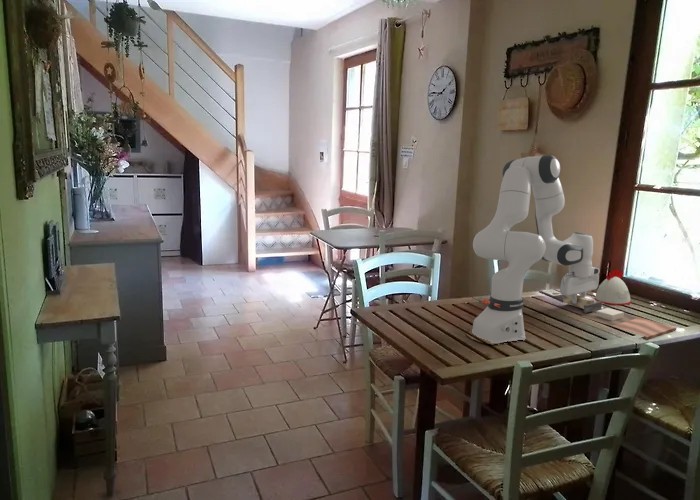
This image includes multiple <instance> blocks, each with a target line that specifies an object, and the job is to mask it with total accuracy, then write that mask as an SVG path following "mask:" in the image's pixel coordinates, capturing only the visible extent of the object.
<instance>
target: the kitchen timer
mask: <svg viewBox="0 0 700 500" xmlns="http://www.w3.org/2000/svg"><path fill="white" fill-rule="evenodd" d="M623 275H624V271H621V269H616V268H615V269H612V270H611V272H608V275H606V274H605V277H606V279H604V280H603V281H602V282H601V283H600V284H598V287H597V289H596V290H597V291H596V292H595V297H594V298H595V301H596V302H599V301H601V302H602V304H606V305H612V306H618V305H619V306H624V305H627V306H630V305H631V295H630V291H629V289H628V286H627V285H626V282H624V280H622V279H621V278H622V277H623Z"/></svg>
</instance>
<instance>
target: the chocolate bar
mask: <svg viewBox="0 0 700 500" xmlns="http://www.w3.org/2000/svg"><path fill="white" fill-rule="evenodd" d="M538 293H539V294H543V295H545V296H547V297H549V298H551V299H553V300H554V299H555V300H557V301H559V302H561V303H563V299H564V295H562V294H561V293H560V290H558V289H555V288H554V289H546V290H544V289H543V290H538Z"/></svg>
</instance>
